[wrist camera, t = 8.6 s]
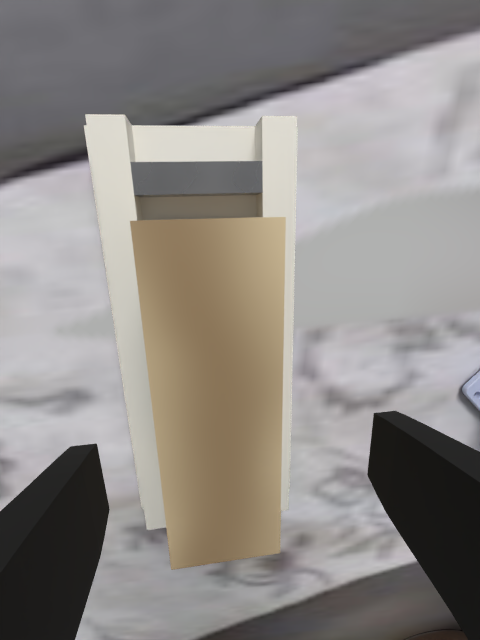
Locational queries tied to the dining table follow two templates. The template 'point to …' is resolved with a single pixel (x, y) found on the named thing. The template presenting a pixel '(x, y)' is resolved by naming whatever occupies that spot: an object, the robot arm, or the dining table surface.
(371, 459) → the robot arm
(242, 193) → the cream rectangular frame
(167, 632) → the dining table surface
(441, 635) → the plant saucer
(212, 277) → the beige rectangular panel
